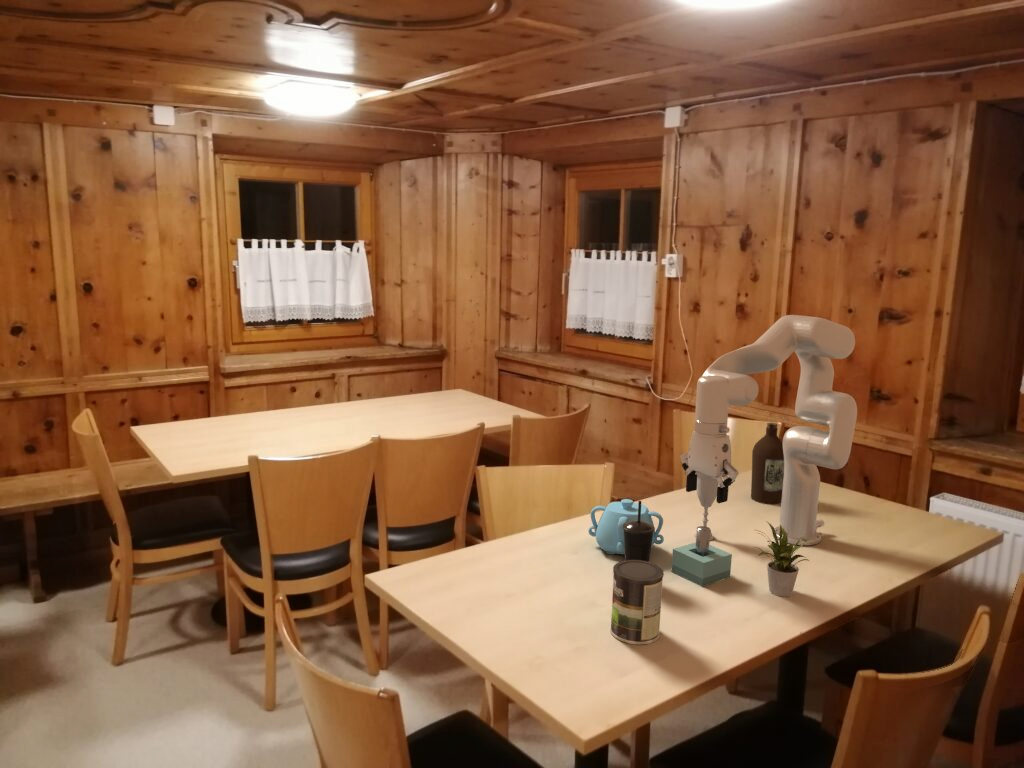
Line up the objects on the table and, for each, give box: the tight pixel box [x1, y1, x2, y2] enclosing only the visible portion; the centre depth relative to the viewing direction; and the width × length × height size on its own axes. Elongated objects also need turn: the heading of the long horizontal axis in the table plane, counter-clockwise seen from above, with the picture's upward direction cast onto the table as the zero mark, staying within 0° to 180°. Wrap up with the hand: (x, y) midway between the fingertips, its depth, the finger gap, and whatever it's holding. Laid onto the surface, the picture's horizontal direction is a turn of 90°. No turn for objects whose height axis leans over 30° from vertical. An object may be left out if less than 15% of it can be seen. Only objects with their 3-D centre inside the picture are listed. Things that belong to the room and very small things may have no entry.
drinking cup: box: [622, 500, 656, 562], centre depth 188 cm, size 8×8×20 cm
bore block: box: [671, 541, 733, 587], centre depth 193 cm, size 10×10×6 cm
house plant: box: [754, 520, 815, 597], centre depth 184 cm, size 14×14×16 cm
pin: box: [695, 525, 711, 557], centre depth 192 cm, size 3×3×10 cm
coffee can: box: [610, 559, 665, 646], centre depth 163 cm, size 10×10×14 cm
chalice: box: [694, 472, 720, 541], centre depth 217 cm, size 7×7×18 cm
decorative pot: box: [588, 498, 665, 556], centre depth 207 cm, size 16×16×14 cm
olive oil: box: [750, 422, 784, 505], centre depth 249 cm, size 11×11×25 cm
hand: (706, 496), depth 190 cm, fingers open, 9 cm apart
